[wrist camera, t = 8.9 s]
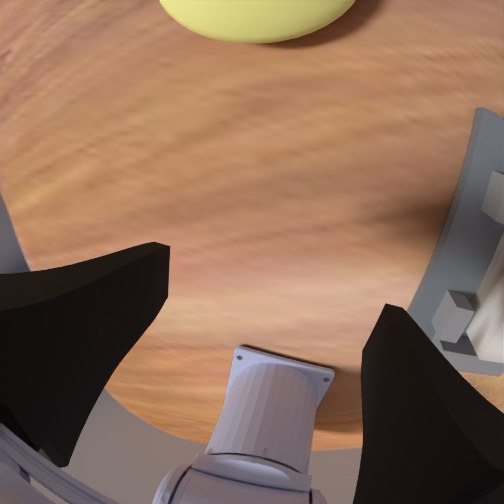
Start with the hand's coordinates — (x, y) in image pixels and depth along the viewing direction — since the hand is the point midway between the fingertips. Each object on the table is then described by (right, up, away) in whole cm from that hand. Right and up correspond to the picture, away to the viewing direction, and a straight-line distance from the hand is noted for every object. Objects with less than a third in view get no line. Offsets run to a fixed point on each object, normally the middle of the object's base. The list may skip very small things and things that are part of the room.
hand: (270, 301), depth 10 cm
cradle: (+17, +1, +6) cm, 18 cm away
